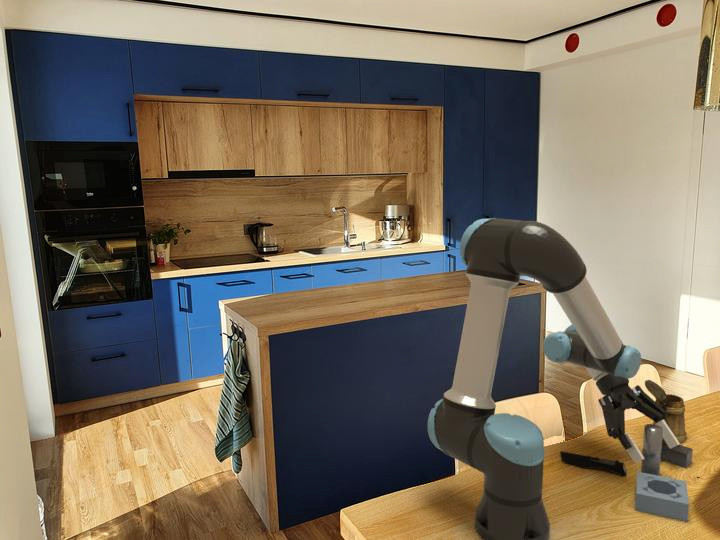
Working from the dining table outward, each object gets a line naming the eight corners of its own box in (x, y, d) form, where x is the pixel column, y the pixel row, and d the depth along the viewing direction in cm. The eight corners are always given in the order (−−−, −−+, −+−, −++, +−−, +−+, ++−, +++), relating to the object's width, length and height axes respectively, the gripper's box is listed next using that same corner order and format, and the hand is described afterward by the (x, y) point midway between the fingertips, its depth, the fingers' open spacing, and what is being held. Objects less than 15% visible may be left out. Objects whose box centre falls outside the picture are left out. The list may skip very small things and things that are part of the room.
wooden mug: (630, 435, 159) (635, 374, 156) (665, 426, 164) (670, 367, 161) (658, 450, 151) (663, 385, 148) (694, 439, 156) (699, 377, 153)
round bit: (641, 475, 139) (644, 429, 137) (641, 468, 142) (644, 422, 140) (659, 479, 137) (663, 432, 135) (659, 471, 141) (662, 425, 139)
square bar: (644, 455, 149) (645, 440, 149) (650, 449, 152) (651, 435, 151) (685, 469, 142) (687, 454, 141) (691, 463, 144) (692, 448, 144)
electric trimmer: (561, 458, 149) (561, 447, 148) (626, 470, 142) (627, 459, 141) (558, 465, 145) (559, 453, 145) (625, 478, 138) (626, 466, 138)
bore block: (635, 510, 125) (636, 493, 125) (636, 487, 134) (637, 471, 133) (687, 521, 121) (688, 504, 120) (684, 497, 130) (686, 481, 129)
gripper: (629, 372, 157) (677, 446, 147) (565, 391, 145) (613, 472, 135) (648, 359, 151) (700, 435, 141) (583, 378, 139) (635, 461, 129)
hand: (657, 453), depth 138 cm, fingers open, 13 cm apart
